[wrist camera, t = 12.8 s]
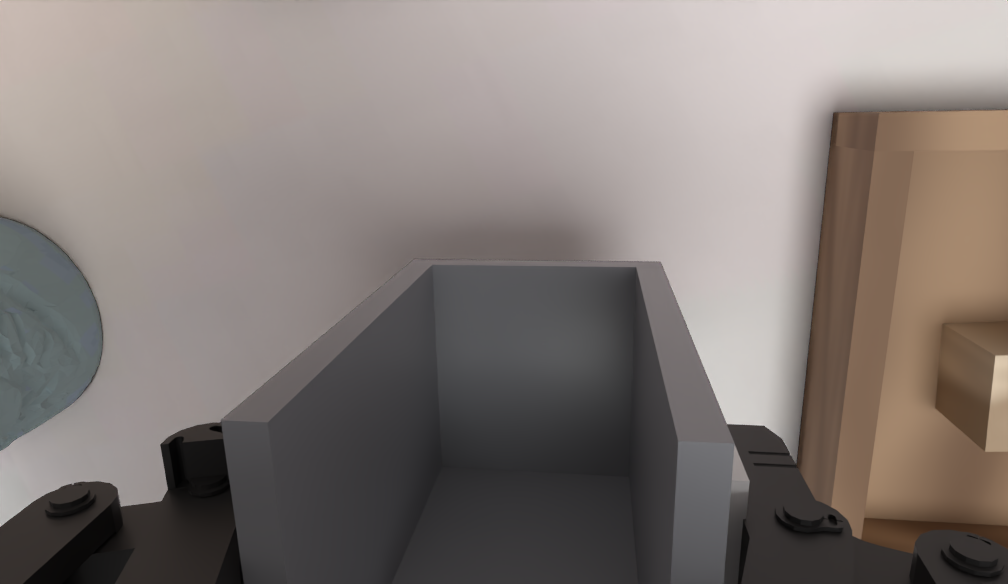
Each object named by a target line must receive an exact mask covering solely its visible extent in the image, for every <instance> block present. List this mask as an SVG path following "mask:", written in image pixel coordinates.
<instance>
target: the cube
mask: <svg viewBox="0 0 1008 584" xmlns="http://www.w3.org/2000/svg"><path fill="white" fill-rule="evenodd" d="M935 409H936V410H938V411H939V412H940V413H941V414H942V415H943V416H945V417H946V418H947V419H948V420H949V421H950V422H951V423H953V424H954V425H955V426H956V427H957V428H958V429H959V430H961V431H962V432H963V433H964V434H965V435H966V436H968V437H969V438H970V439H971V440H972V441H973V442H974V443H976V444H977V445H978V446H979V447H980V448H981V449H982V450H984V451H985V452H1008V321H997V322H970V323H943V324H942V336H941V348H940V359H939V371H938V383H937V394H936V406H935Z"/></svg>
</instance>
